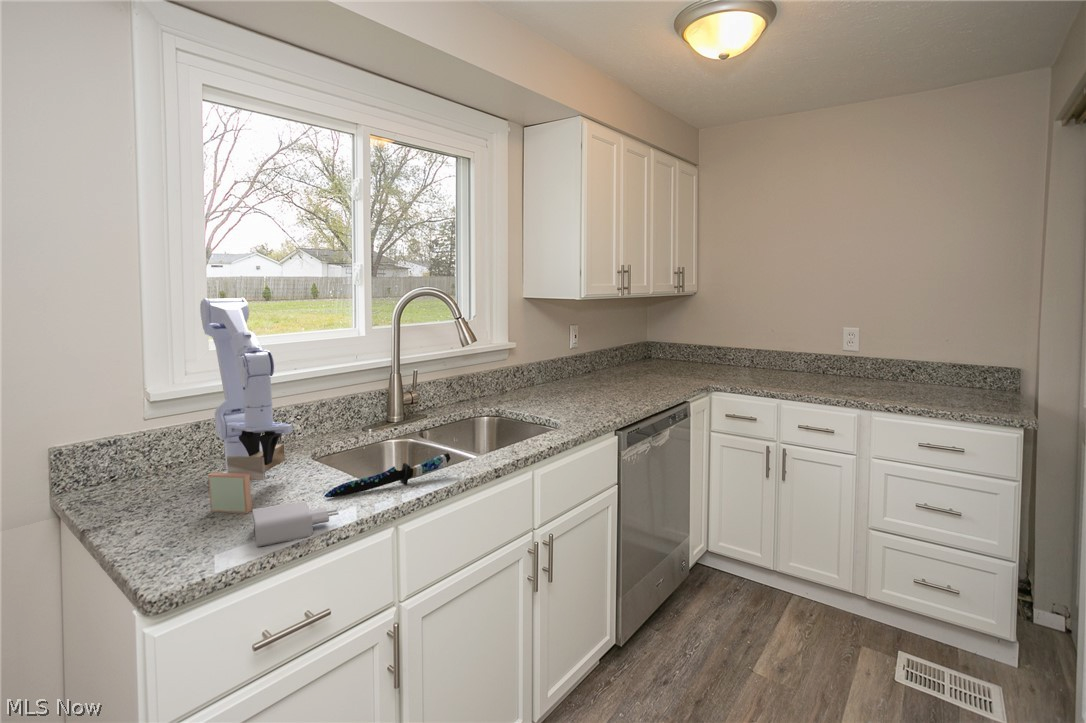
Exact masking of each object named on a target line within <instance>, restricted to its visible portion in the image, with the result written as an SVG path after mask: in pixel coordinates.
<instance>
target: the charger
mask: <svg viewBox="0 0 1086 723" xmlns="http://www.w3.org/2000/svg"><path fill="white" fill-rule="evenodd" d="M251 511H252V524H253V534H254V539H255V544H256V548H258V547H260V548H261V547H264V546H269V545H274V544H279V543H285V542H289V541H295V540H298V539H303V538H304V539H305V538H308V537H310V536H311V535H312V534H313V533H314V527H313V526H314V525H319V524H324V523H329V522H330V517H331V516H337V515H339V512H337V511H338V509H330V510H327V508H326V507H325V506H324V507H318V508H314V509H313V508H312V509H310V508H309V505H308V503H307V502H304V501H301V500H300V501H294V502H288V503H281V504H276V505H271V506H270V505H269V506H265V507H259V508H252V510H251Z"/></svg>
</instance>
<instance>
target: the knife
mask: <svg viewBox="0 0 1086 723" xmlns="http://www.w3.org/2000/svg"><path fill="white" fill-rule="evenodd" d="M450 460H451V456H450V453H444V454H441V455H439V456H436V457H433V458H431V459H428V460H426V461H424V462H422V463H419V464H416V465H414V466H410V465H409V464H408V463H406V462H404V463H402V467H401V470H397V469H396V466H395V465H394V466H392V467H391V468H389V469H388V470H385V471H384V472H381V473H378V474H374V475H371V476H367V477H364V478H359V479H355V480H350V481H347V482H344V483H342V484H340V485H337V486H336V487H334V488H332V489H330V490H329V491H328V492H326V494H324V498H326V499H327V498H339V497H343V496H348V495H353V494H357V493H362V492H366V491H370V490H373V489H377V488H379V487H384V486H387V485H390V484H392V483H395V482H398V481H400V482H401V484H402V485H404V486H407V485H408V483H409V482H408V481H409V480H410V479H411V478H414V477H418V476H420V475H423V474H426V473H429V472H432V471H436V470H438V469H441V468H445V467H446V466H447V465H448V463H449V462H450Z"/></svg>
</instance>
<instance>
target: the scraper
mask: <svg viewBox="0 0 1086 723" xmlns="http://www.w3.org/2000/svg"><path fill="white" fill-rule="evenodd" d="M285 456H286V454H285V444H283V443H277V444H276V447H275V450H274V454H273V459H272V463H270V464H268V465H264V457H263V450H262V451H260V452H258V453H256V454H254V455H252V456H250V457H245V456H228V457H227V465H228V473H244V474H249V476H250V481H265V480H266V472H267V471H269V470H270V469H273V468H274V467H276V466H278V465H279V464H281V463H283V462H285V461H286V460H285V459H286V457H285Z"/></svg>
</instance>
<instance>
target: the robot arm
mask: <svg viewBox="0 0 1086 723" xmlns="http://www.w3.org/2000/svg"><path fill="white" fill-rule="evenodd" d="M199 304H200V306H199V312H200V318H201V325H202V329H203V331H204V335H206V336H209V337H211V338H212V341H213V344H214V346H215V351H216V352H215V353H216V356H217V361H218V362H217V363H218V367H219V373H220V378H221V384H222V390H223V396H224V402H222V403H221V404H220V405H218V406H217V408H216V409H215V412H214V420H215V421H214V425H215V426H214V427H215V433H216V436H217V437H218V438H219V439H220V440H221V441H223V442H224V455H225V457H224V458H225V468H226V471H223V472H222V473H228V465H227V457H228V456H245V457H250V456H252V455H254V454H256V453H258V452H260V451H262V450H263V457H264V465H268V464H270V463H272V459H273V454H274V450H275V447H276V444H278V442H279V439H280V438H281V436H282V434H284V435H290V434H291V433H293V430H294V429H293V423H284V422H283V423H282V422H277V421H274V413H273V412H274V410H273V394H272V381H271V379H272V377H273V375H274V372H275V363H274V358H273V357H274V356H273V354H272V352H271V351H270V350H267V348H265V349H264V348H263V347H262V344H261V343H260V341H259V338H258V337H257V336H258V335H256V333H254V332H253V331H251V330H249V328H248V325H247V323H248V319H249V318H250V310H249V307H250V306H249V303H248V301H247V300H246V299H245V297H238V298H231V297H229V298H227V297H225V298H224V297H223V298H205V297H203V299H202V300H201V301H200V303H199Z"/></svg>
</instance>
